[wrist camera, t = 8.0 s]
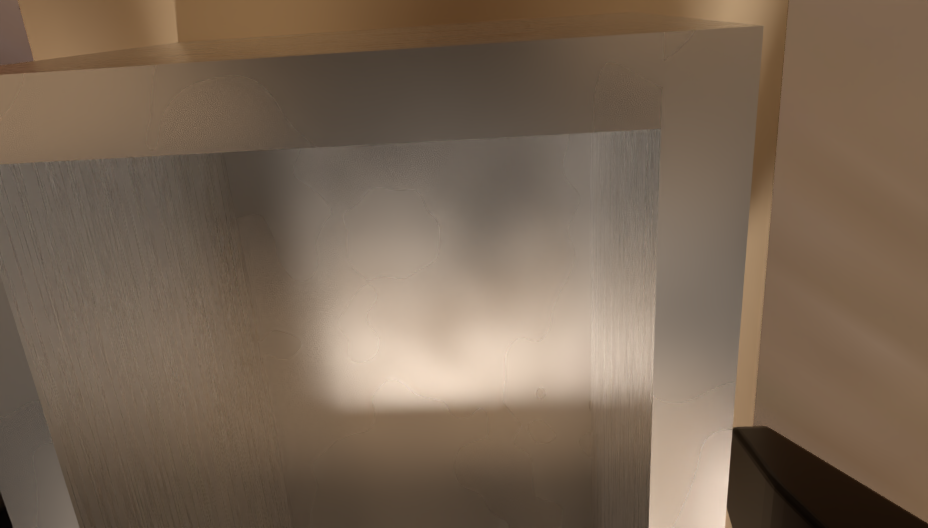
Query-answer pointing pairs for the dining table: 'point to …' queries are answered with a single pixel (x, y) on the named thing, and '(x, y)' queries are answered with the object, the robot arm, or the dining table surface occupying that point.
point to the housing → (378, 277)
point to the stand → (437, 3)
